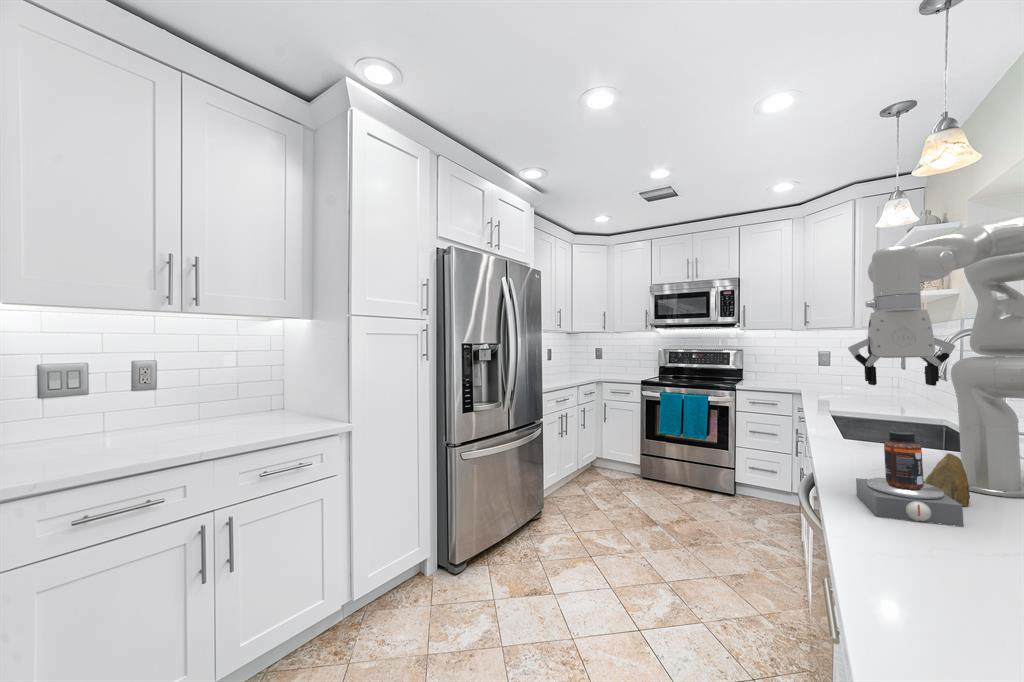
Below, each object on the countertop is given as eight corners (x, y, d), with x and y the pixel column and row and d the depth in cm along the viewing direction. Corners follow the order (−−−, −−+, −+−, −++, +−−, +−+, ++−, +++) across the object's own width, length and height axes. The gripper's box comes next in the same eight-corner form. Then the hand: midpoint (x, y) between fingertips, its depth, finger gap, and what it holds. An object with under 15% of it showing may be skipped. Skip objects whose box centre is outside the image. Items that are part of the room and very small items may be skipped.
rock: (988, 501, 88) (987, 484, 95) (950, 464, 92) (952, 450, 98) (931, 520, 95) (934, 502, 102) (898, 485, 99) (903, 470, 105)
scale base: (856, 495, 100) (856, 478, 100) (930, 503, 94) (929, 484, 94) (877, 517, 87) (876, 497, 87) (964, 527, 81) (963, 506, 81)
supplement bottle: (931, 490, 87) (928, 434, 87) (898, 489, 88) (895, 434, 89) (910, 482, 93) (908, 429, 93) (879, 481, 94) (876, 429, 94)
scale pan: (859, 478, 99) (859, 475, 99) (928, 485, 93) (928, 481, 93) (877, 494, 88) (877, 490, 88) (956, 502, 83) (956, 498, 83)
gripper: (851, 306, 92) (855, 385, 92) (960, 300, 85) (965, 387, 84) (842, 309, 99) (846, 383, 98) (942, 303, 91) (947, 384, 91)
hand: (901, 384), depth 91 cm, fingers open, 9 cm apart
